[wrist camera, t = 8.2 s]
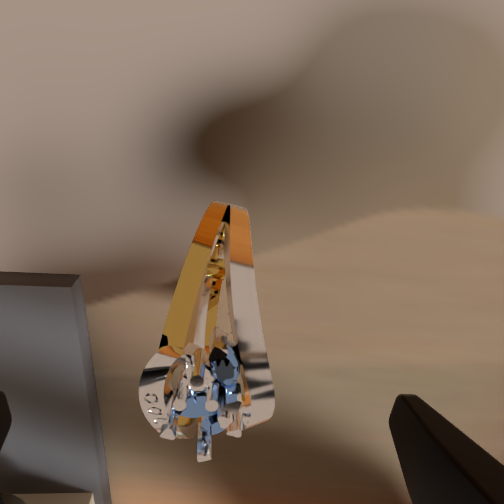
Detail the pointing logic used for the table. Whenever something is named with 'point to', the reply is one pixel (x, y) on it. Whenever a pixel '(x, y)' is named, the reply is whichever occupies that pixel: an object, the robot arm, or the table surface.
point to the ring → (211, 341)
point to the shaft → (10, 499)
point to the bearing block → (49, 393)
